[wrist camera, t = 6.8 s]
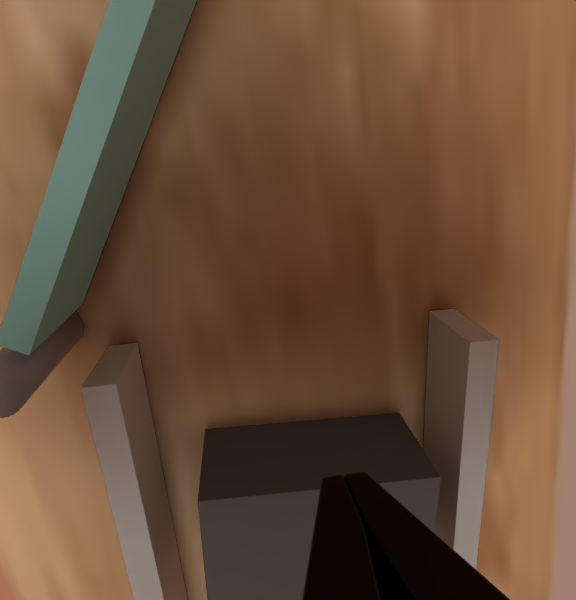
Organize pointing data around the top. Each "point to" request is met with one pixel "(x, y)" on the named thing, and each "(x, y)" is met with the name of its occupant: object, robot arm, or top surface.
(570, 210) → the top surface
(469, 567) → the robot arm
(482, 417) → the frame
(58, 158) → the bar
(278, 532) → the block
